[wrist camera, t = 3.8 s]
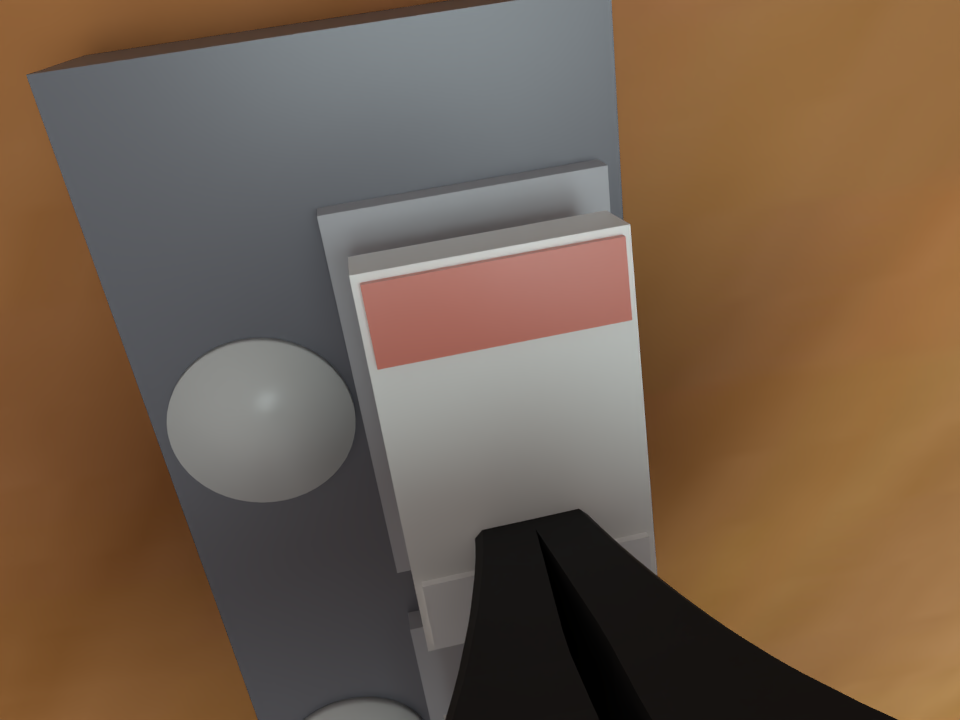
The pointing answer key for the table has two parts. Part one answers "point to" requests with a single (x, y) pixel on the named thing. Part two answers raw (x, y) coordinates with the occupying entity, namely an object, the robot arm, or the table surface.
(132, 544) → the table surface
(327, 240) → the power strip
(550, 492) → the rocker outer
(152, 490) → the table surface
